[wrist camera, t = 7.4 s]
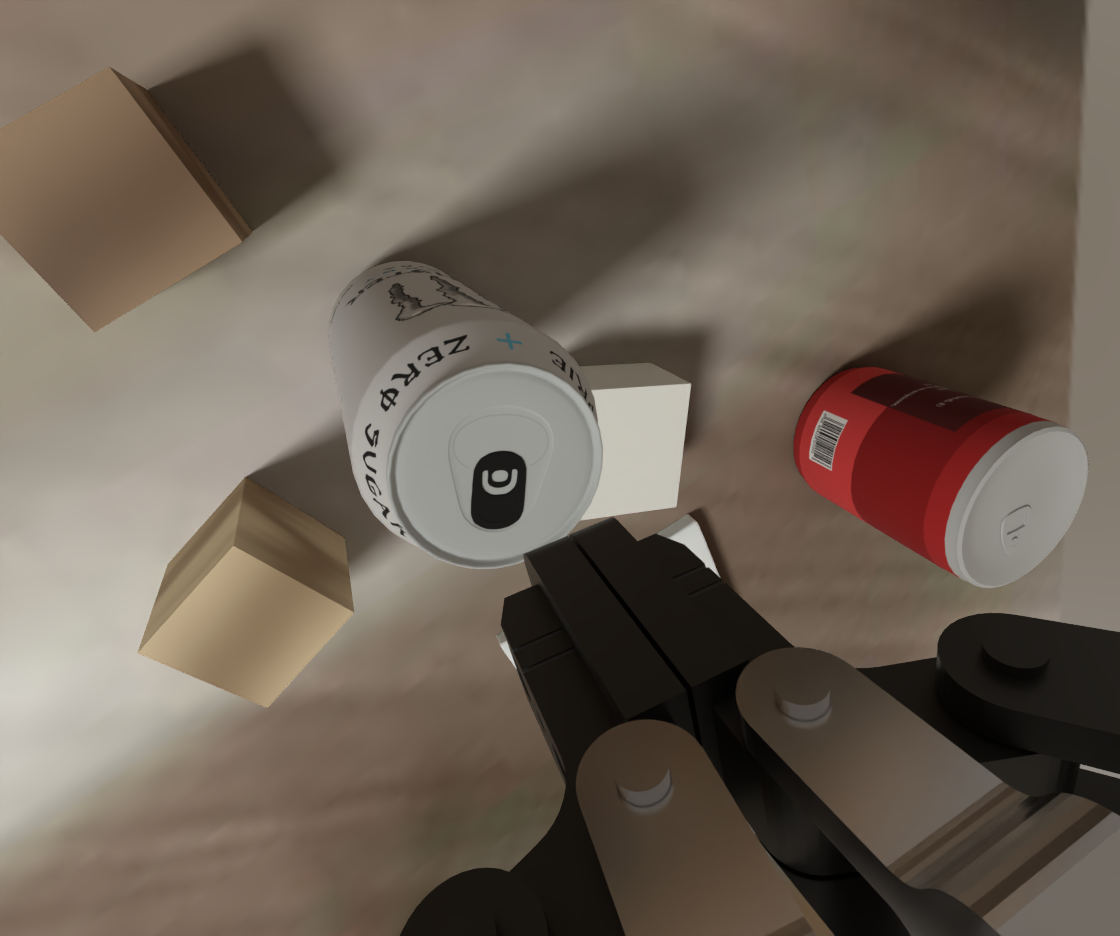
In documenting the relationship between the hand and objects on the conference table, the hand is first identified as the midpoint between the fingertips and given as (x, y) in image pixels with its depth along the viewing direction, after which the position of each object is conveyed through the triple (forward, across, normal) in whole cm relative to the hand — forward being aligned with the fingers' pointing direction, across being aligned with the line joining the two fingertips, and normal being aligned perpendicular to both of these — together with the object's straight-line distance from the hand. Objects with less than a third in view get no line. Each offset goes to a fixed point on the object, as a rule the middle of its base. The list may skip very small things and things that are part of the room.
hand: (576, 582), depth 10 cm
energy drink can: (+20, 0, 0) cm, 20 cm away
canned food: (+20, -22, +13) cm, 32 cm away
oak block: (+20, +9, +7) cm, 23 cm away
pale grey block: (+20, -7, +7) cm, 22 cm away
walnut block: (+20, +7, -7) cm, 22 cm away
